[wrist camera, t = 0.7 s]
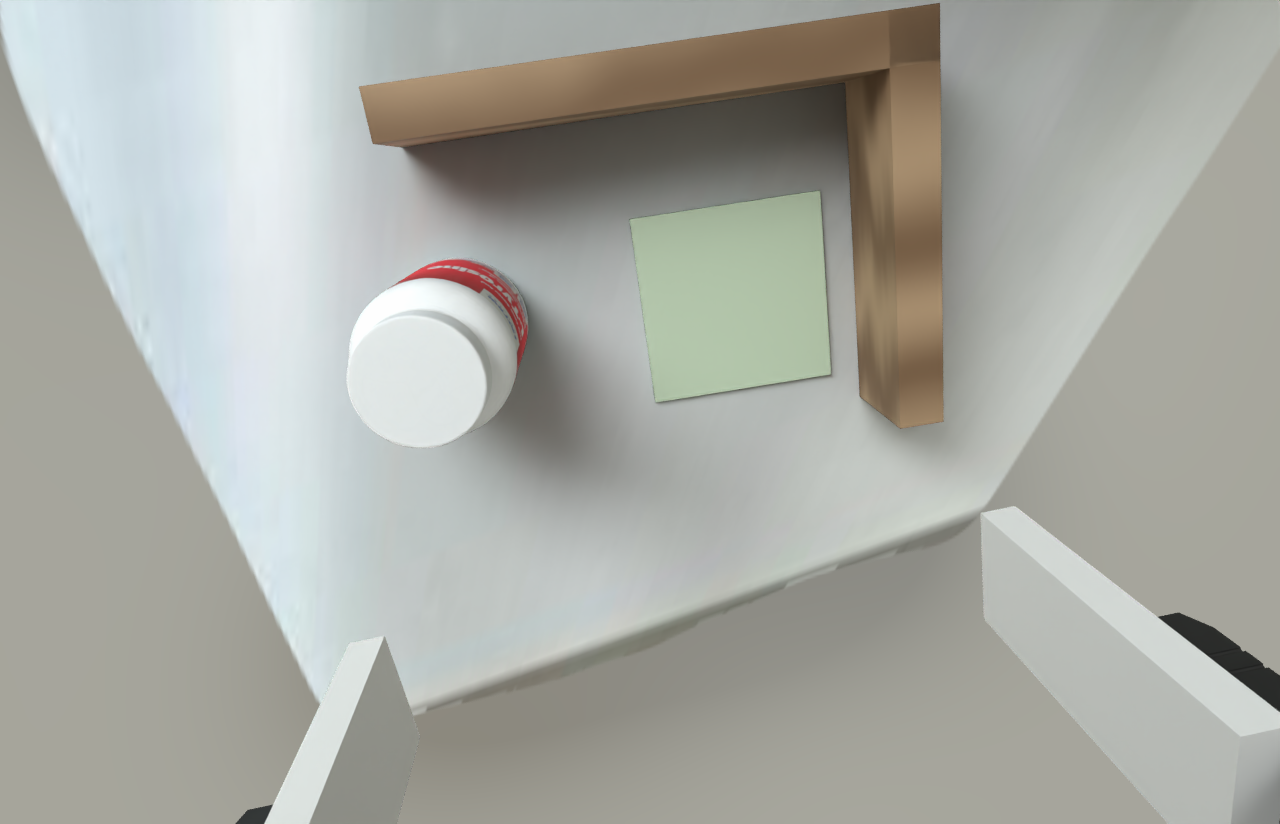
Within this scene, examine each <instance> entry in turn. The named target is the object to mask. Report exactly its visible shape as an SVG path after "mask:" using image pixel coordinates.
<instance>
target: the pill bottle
mask: <svg viewBox="0 0 1280 824" xmlns="http://www.w3.org/2000/svg"><path fill="white" fill-rule="evenodd" d="M527 337H528V315H527V310H526V307H525V304H524V301H523V299H522V297H521V295H520V293H519V291H518V290H517V288H516V287H515V285H514V284H513V283H512V282H511V281H510V280H509V279H508V278H507V277H506V276H505V275H504V274H503V273H501V272H500V271H499V270H497V269H496V268H494V267H492V266H490V265H488V264H486V263H484V262H481V261H478V260H474V259H469V258H447V259H442V260H439V261H436V262H433V263H431V264H428V265H426V266H425V267H423V268H421V269H419V270H418V271H416V272H414V273H413V274H411V275H409V276H408V277H406V278H405V279H403V280H401V281H399V282H398V283H396V284H395V285H393V286H391V287H390V288H388V289H387V290H385V291H384V292H382V293H381V294H380V295H378V296H377V297H376V298H375V299H374V300H373V301H372V302H371V303H370V304H369V305H368V306H367V307H366V308H365V309H364V311H363V312H362V314H361V315H360V317H359V318H358V320H357V322H356V324H355V327H354V329H353V332H352V335H351V339H350V344H349V362H348V367H347V378H346V380H347V389H348V393H349V397H350V400H351V402H352V404H353V407H354V408H355V410H356V412H357V414H358V415H359V417H360V418H361V419H362V420H363V422H364V423H365V424H366V425H367V426H368V427H369V428H370V429H371V430H372V431H374V432H375V433H376V434H378V435H379V436H381V437H382V438H384V439H386V440H388V441H390V442H393V443H395V444H398V445H401V446H406V447H411V448H433V447H438V446H442V445H445V444H448V443H450V442H452V441H455V440H457V439H458V438H460V437H461V436H463V435H464V434H467V433H469V432H472V431H474V430H476V429H478V428H479V427H481V426H482V425H484V424H485V423H487V422H488V421H489V420H490V419H492V418H493V417H494V416H495V415H496V414H497V412H498V411H499V410H500V409H501V408H502V406H503V405H504V403H505V402H506V400H507V398H508V396H509V394H510V392H511V390H512V388H513V385H514V382H515V379H516V375H517V372H518V368H519V365H520V362H521V359H522V355H523V353H524V349H525V346H526V342H527Z"/></svg>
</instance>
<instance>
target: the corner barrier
mask: <svg viewBox="0 0 1280 824" xmlns="http://www.w3.org/2000/svg"><path fill="white" fill-rule="evenodd" d="M844 82H845V91H846V113H847V134H848V155H849V177H850V198H851V219H852V240H853V262H854V283H855V304H856V325H857V347H858V368H859V389H860V397H861V398H862V399H864V400H865V401H866V402H868V403H869V404H870V405H871V406H873V407H874V408H875V409H876V410H878V411H879V412H880V413H881V414H883V415H884V416H885V417H886V418H888V419H889V420H890V421H891V422H893V423H894V424H895V425H896V426H898V427H899V428H900V429H902V428H908V427H914V426H920V425H926V424H932V423H938V422H943V315H942V199H941V83H940V3H937V4H930V5H923V6H916V7H909V8H902V9H895V10H888V11H881V12H874V13H867V14H860V15H853V16H846V17H840V18H833V19H826V20H819V21H812V22H805V23H798V24H791V25H784V26H777V27H770V28H763V29H756V30H749V31H742V32H735V33H728V34H721V35H714V36H707V37H700V38H693V39H687V40H680V41H673V42H666V43H659V44H652V45H645V46H638V47H631V48H624V49H617V50H610V51H603V52H596V53H589V54H582V55H575V56H568V57H561V58H554V59H547V60H540V61H534V62H527V63H520V64H513V65H506V66H499V67H492V68H485V69H478V70H471V71H464V72H457V73H450V74H443V75H436V76H429V77H422V78H415V79H408V80H401V81H394V82H387V83H381V84H374V85H367V86H360V87H359V89H360V93H361V97H362V101H363V105H364V110H365V114H366V118H367V122H368V126H369V130H370V134H371V138H372V143H373V144H378V145H386V146H394V147H408V146H415V145H422V144H429V143H436V142H442V141H449V140H456V139H463V138H470V137H476V136H483V135H490V134H497V133H504V132H510V131H517V130H524V129H531V128H538V127H544V126H551V125H558V124H565V123H572V122H578V121H585V120H592V119H599V118H606V117H612V116H619V115H626V114H633V113H640V112H646V111H653V110H660V109H667V108H674V107H680V106H687V105H694V104H701V103H708V102H714V101H721V100H728V99H735V98H742V97H748V96H755V95H762V94H769V93H776V92H782V91H789V90H796V89H803V88H810V87H816V86H823V85H830V84H837V83H844Z"/></svg>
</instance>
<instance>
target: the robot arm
mask: <svg viewBox="0 0 1280 824" xmlns="http://www.w3.org/2000/svg"><path fill="white" fill-rule="evenodd" d="M981 542H982V570H983V571H982V573H983V602H984V603H983V605H984V620H985V621H986V622H987V623H988V624H989V625H990V626H991V627H992V629H993V630H994V631H995V632H996V633H997V634H998V635H999V636H1000V637H1001V638H1002V640H1003V641H1004V642H1005V643H1006V644H1007V645H1008V646H1009V647H1010V648H1011V650H1012V651H1013V652H1014V653H1015V654H1016V655H1017V656H1018V657H1019V658H1020V660H1021V661H1022V662H1023V663H1024V664H1025V665H1026V666H1027V667H1028V669H1029V670H1030V671H1031V672H1032V673H1033V674H1034V675H1035V676H1036V677H1037V679H1038V680H1040V682H1041V683H1042V684H1043V685H1044V686H1045V687H1046V689H1047V690H1048V691H1049V692H1050V693H1051V694H1052V695H1053V696H1054V697H1055V698H1056V700H1057V701H1058V702H1059V703H1060V704H1061V705H1062V706H1063V707H1064V709H1065V710H1066V711H1067V712H1068V713H1069V714H1070V715H1071V716H1072V717H1073V718H1074V720H1075V721H1076V722H1077V723H1078V724H1079V725H1080V726H1081V727H1082V729H1083V730H1084V731H1085V732H1086V733H1087V734H1088V735H1089V736H1090V737H1091V739H1092V740H1093V741H1094V742H1095V743H1096V744H1097V745H1098V746H1099V748H1100V749H1101V750H1102V751H1103V752H1104V753H1105V754H1106V755H1107V756H1108V757H1109V759H1110V760H1111V761H1112V762H1113V763H1114V764H1115V765H1116V766H1117V768H1118V769H1119V770H1120V771H1121V772H1122V773H1123V774H1124V775H1125V776H1126V778H1128V780H1129V781H1130V782H1131V783H1132V784H1133V785H1134V786H1135V788H1136V789H1137V790H1138V791H1139V792H1140V793H1141V794H1142V795H1143V796H1144V798H1145V799H1146V800H1147V801H1148V802H1149V803H1150V804H1151V805H1152V806H1153V808H1155V810H1156V811H1157V812H1158V813H1159V814H1160V815H1161V816H1162V817H1163V819H1164V820H1165V821H1166V822H1167V823H1168V824H1280V675H1278V674H1277V673H1275V672H1274V671H1273V670H1271V669H1270V668H1265V667H1264V666H1263V663H1261V662H1260V661H1259V660H1257V659H1256V658H1255V657H1253V656H1252V655H1251V654H1249V653H1247V652H1246V651H1244V652H1243V651H1242V650H1241V648H1240V647H1239V646H1238V645H1237V644H1235V643H1234V642H1233V641H1231V640H1230V639H1229V638H1227V637H1226V636H1224V635H1223V634H1222V633H1220V632H1219V631H1218V630H1216V629H1215V628H1213V627H1211V626H1209V625H1206V624H1204V623H1202V622H1199V621H1197V620H1195V619H1192V618H1190V617H1188V616H1185V615H1183V614H1181V613H1174V614H1170V615H1165V616H1160V617H1157V616H1155V615H1154V614H1153V613H1152V612H1150V611H1149V610H1148V609H1146V608H1145V607H1144V606H1143V605H1141V604H1140V603H1139V602H1137V601H1136V600H1135V599H1134V598H1132V597H1131V596H1130V595H1128V594H1127V593H1126V592H1125V591H1123V590H1122V589H1121V588H1119V587H1118V586H1117V585H1115V584H1114V583H1113V582H1112V581H1110V580H1109V579H1108V578H1107V577H1105V576H1104V575H1103V574H1101V573H1100V572H1099V571H1098V570H1096V569H1095V568H1094V567H1092V566H1091V565H1090V564H1088V563H1087V562H1086V561H1085V560H1083V559H1082V558H1081V557H1080V556H1078V555H1077V554H1076V553H1074V552H1073V551H1072V550H1070V549H1069V548H1068V547H1067V546H1065V545H1064V544H1063V543H1062V542H1060V541H1059V540H1058V539H1056V538H1055V537H1054V536H1053V535H1051V534H1050V533H1049V532H1047V531H1046V530H1045V529H1044V528H1042V527H1041V526H1040V525H1038V524H1037V523H1036V522H1035V521H1033V520H1032V519H1031V518H1029V517H1028V516H1027V515H1026V514H1024V513H1023V512H1022V511H1020V510H1019V509H1018V508H1017V507H1015V506H1012V507H1008V508H1003V509H998V510H993V511H989V512H983V513H981ZM419 740H420V735H419V732H418V729H417V726H416V724H415V721H414V718H413V715H412V712H411V709H410V706H409V704H408V701H407V698H406V695H405V692H404V689H403V687H402V684H401V681H400V678H399V675H398V672H397V670H396V667H395V664H394V661H393V658H392V655H391V653H390V650H389V647H388V644H387V641H386V638H385V636H381V637H376V638H371V639H366V640H362V641H357V642H352V643H349V644H348V646H347V649H346V651H345V653H344V655H343V657H342V659H341V661H340V664H339V666H338V668H337V670H336V672H335V674H334V676H333V678H332V681H331V683H330V685H329V687H328V689H327V691H326V693H325V696H324V698H323V700H322V702H321V704H320V706H319V708H318V710H317V713H316V715H315V717H314V719H313V721H312V723H311V725H310V728H309V730H308V732H307V734H306V736H305V738H304V740H303V743H302V745H301V747H300V749H299V751H298V753H297V755H296V758H295V760H294V762H293V764H292V766H291V768H290V770H289V772H288V775H287V777H286V779H285V781H284V783H283V785H282V787H281V789H280V791H279V794H278V796H277V798H276V800H275V802H274V804H273V805H270V806H265V807H260V808H255V809H250V810H247V811H246V813H245V814H244V815H243V816H242V817H241V818H240V819H239V821H238V822H237V823H236V824H397V822H398V817H399V814H400V810H401V807H402V803H403V799H404V796H405V792H406V788H407V784H408V780H409V777H410V773H411V769H412V765H413V762H414V758H415V754H416V750H417V747H418V743H419Z"/></svg>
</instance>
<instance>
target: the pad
mask: <svg viewBox="0 0 1280 824" xmlns="http://www.w3.org/2000/svg"><path fill="white" fill-rule="evenodd" d="M629 220H630V227H631V234H632V241H633V248H634V255H635V262H636V269H637V276H638V283H639V290H640V297H641V304H642V311H643V318H644V325H645V333H646V340H647V347H648V354H649V361H650V368H651V375H652V382H653V389H654V396H655V402H662V401H669V400H675V399H681V398H687V397H693V396H700V395H706V394H712V393H718V392H724V391H731V390H737V389H743V388H749V387H755V386H762V385H768V384H774V383H780V382H786V381H793V380H799V379H805V378H811V377H817V376H824V375H830V374H831V365H830V349H829V332H828V315H827V298H826V282H825V265H824V248H823V231H822V214H821V198H820V190H818V191H812V192H805V193H798V194H792V195H785V196H779V197H772V198H766V199H759V200H752V201H746V202H739V203H733V204H726V205H720V206H713V207H706V208H700V209H693V210H687V211H680V212H674V213H667V214H660V215H654V216H647V217H641V218H634V219H629Z"/></svg>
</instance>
